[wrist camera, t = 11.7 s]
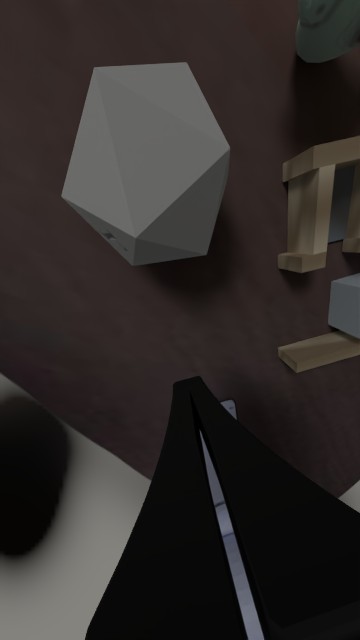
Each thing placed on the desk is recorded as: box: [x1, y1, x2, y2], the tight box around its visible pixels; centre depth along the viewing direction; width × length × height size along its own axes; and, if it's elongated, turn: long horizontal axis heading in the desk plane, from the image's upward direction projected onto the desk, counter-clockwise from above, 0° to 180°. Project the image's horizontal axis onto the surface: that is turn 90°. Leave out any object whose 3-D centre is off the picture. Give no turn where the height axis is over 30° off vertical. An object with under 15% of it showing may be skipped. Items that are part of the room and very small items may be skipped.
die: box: [61, 62, 230, 266], centre depth 11 cm, size 8×9×10 cm
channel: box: [278, 136, 360, 373], centre depth 17 cm, size 18×8×3 cm, turn 13°
